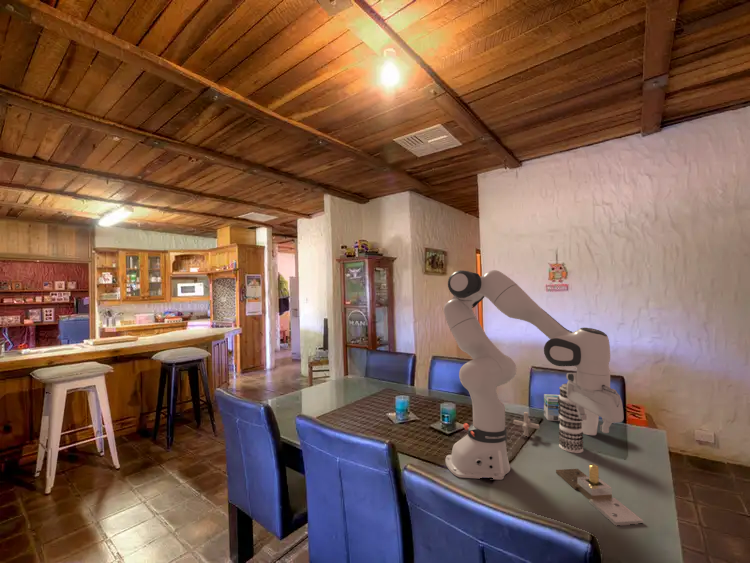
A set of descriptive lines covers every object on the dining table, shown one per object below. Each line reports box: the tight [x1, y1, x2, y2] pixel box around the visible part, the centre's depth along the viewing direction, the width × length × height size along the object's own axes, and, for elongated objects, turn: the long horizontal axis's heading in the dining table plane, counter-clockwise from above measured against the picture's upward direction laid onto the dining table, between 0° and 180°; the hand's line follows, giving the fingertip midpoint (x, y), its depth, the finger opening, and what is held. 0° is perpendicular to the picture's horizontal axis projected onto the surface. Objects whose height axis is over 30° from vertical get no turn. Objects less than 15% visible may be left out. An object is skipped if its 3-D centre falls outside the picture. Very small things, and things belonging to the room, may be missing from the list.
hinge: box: [555, 468, 644, 527], centre depth 107 cm, size 26×8×4 cm, turn 5°
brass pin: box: [588, 463, 599, 486], centre depth 107 cm, size 2×2×9 cm
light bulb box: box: [543, 393, 560, 422], centre depth 168 cm, size 11×7×11 cm, turn 81°
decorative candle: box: [557, 382, 584, 454], centre depth 138 cm, size 9×9×25 cm
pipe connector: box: [513, 411, 540, 438], centre depth 149 cm, size 10×10×10 cm
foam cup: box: [581, 408, 600, 436], centre depth 152 cm, size 10×9×13 cm
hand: (592, 425), depth 107 cm, fingers open, 8 cm apart
